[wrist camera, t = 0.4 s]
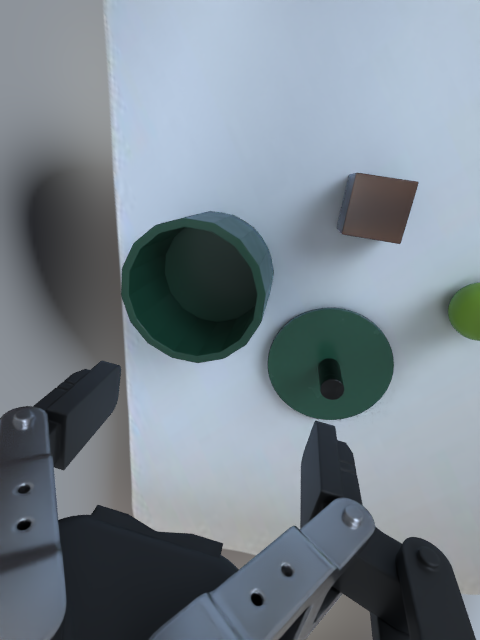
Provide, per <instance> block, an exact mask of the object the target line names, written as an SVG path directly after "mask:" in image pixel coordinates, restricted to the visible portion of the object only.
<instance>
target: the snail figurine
mask: <svg viewBox="0 0 480 640" xmlns="http://www.w3.org/2000/svg"><path fill="white" fill-rule="evenodd" d="M448 316H449V320H450V322H451V324H452V326H453V327H454V329H455V330H456V331H457V332H458V333H460V334H461V335H463V336H465V337H467V338H469V339H472V340H478V341H480V282H479V283H474V284H470V285H468V286H465V287H464V288H462V289H460V290H459V291H458V292H457V293H456V294H455V295H454V296H453V298H452V299H451V301H450V304H449V308H448Z"/></svg>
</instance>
